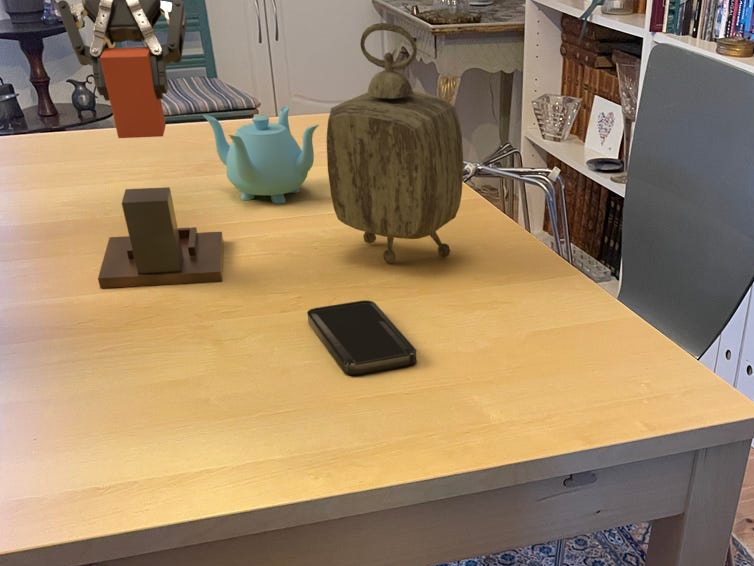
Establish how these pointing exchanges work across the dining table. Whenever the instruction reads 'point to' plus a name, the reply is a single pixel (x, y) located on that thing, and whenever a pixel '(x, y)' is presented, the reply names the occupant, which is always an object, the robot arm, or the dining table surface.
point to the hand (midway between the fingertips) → (132, 94)
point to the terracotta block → (132, 92)
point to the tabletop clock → (395, 157)
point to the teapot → (265, 157)
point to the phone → (361, 337)
